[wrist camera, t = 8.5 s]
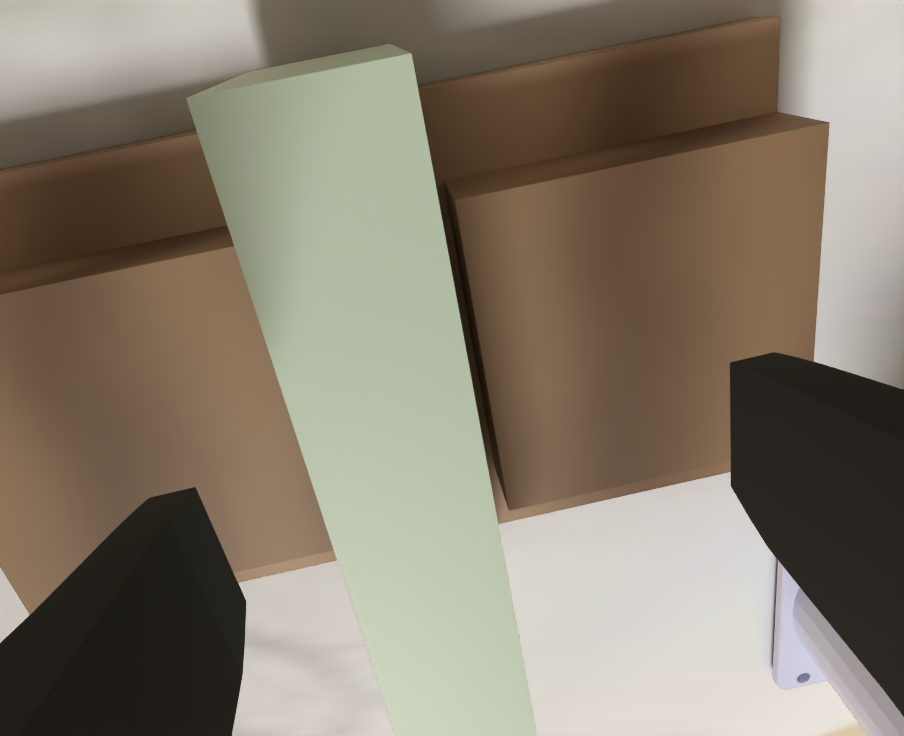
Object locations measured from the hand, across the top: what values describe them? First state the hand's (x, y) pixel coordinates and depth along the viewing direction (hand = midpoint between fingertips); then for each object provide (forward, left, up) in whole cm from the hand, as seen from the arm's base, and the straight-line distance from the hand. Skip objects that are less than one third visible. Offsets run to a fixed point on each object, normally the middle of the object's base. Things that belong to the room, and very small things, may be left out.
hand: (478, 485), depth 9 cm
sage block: (+1, +2, -8) cm, 9 cm away
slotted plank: (+1, +2, -9) cm, 10 cm away
